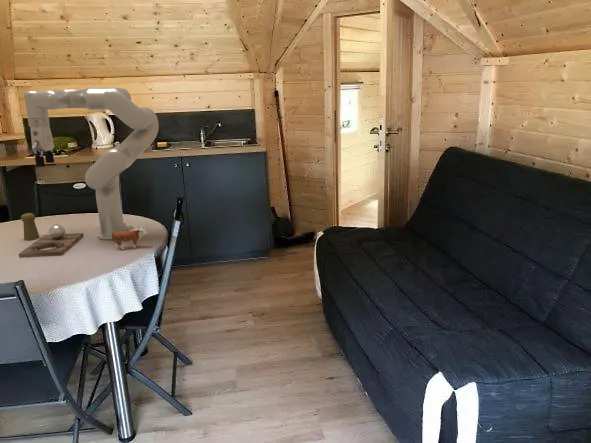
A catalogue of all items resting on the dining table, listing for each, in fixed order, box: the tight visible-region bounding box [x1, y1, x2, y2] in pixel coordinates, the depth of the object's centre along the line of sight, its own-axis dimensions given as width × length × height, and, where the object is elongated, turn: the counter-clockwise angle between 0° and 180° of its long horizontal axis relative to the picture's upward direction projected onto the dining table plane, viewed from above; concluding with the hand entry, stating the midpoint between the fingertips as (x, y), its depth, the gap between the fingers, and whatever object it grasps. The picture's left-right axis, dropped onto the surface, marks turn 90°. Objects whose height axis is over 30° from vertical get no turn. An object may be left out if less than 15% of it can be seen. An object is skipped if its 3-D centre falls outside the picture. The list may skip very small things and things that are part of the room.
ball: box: [48, 223, 66, 239], centre depth 204 cm, size 6×6×6 cm
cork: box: [20, 212, 41, 241], centre depth 209 cm, size 6×6×11 cm
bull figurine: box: [111, 227, 148, 251], centre depth 193 cm, size 4×13×8 cm, turn 98°
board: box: [18, 232, 84, 258], centre depth 199 cm, size 24×16×2 cm, turn 4°
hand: (45, 164), depth 202 cm, fingers open, 9 cm apart
